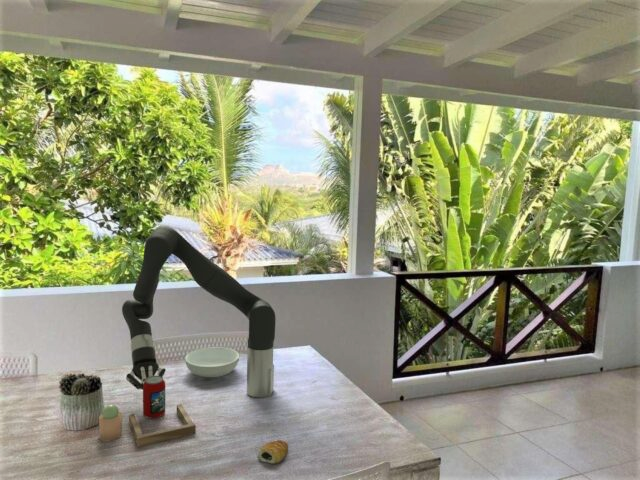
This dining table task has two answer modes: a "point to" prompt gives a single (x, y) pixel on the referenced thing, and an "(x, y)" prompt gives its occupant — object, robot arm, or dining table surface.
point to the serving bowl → (212, 361)
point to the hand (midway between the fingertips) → (149, 399)
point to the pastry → (273, 451)
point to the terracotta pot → (110, 423)
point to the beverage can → (154, 397)
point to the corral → (163, 434)
